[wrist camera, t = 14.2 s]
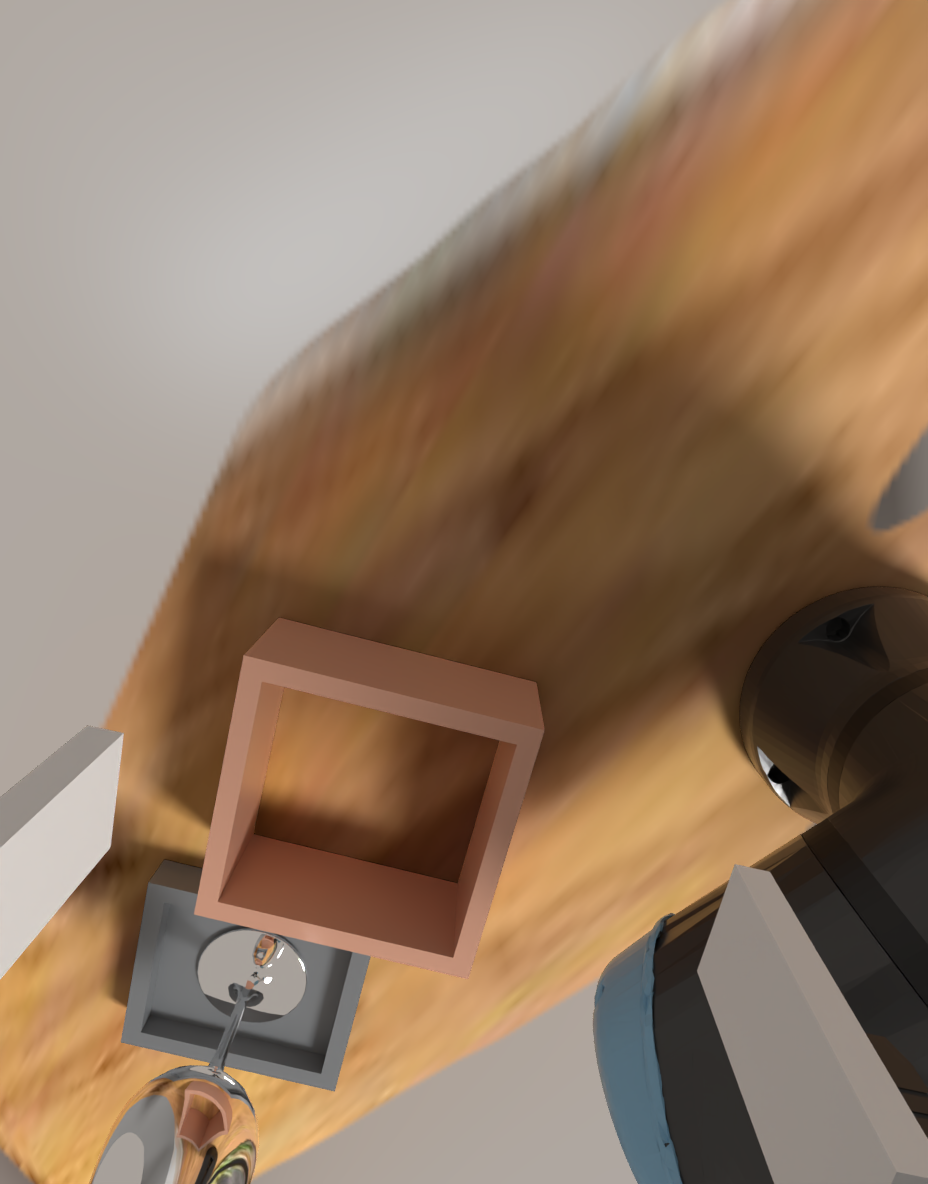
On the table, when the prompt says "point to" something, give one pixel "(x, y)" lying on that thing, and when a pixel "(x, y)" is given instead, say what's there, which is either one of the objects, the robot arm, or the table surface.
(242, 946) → the wineglass
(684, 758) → the table surface
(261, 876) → the holder
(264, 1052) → the tray
